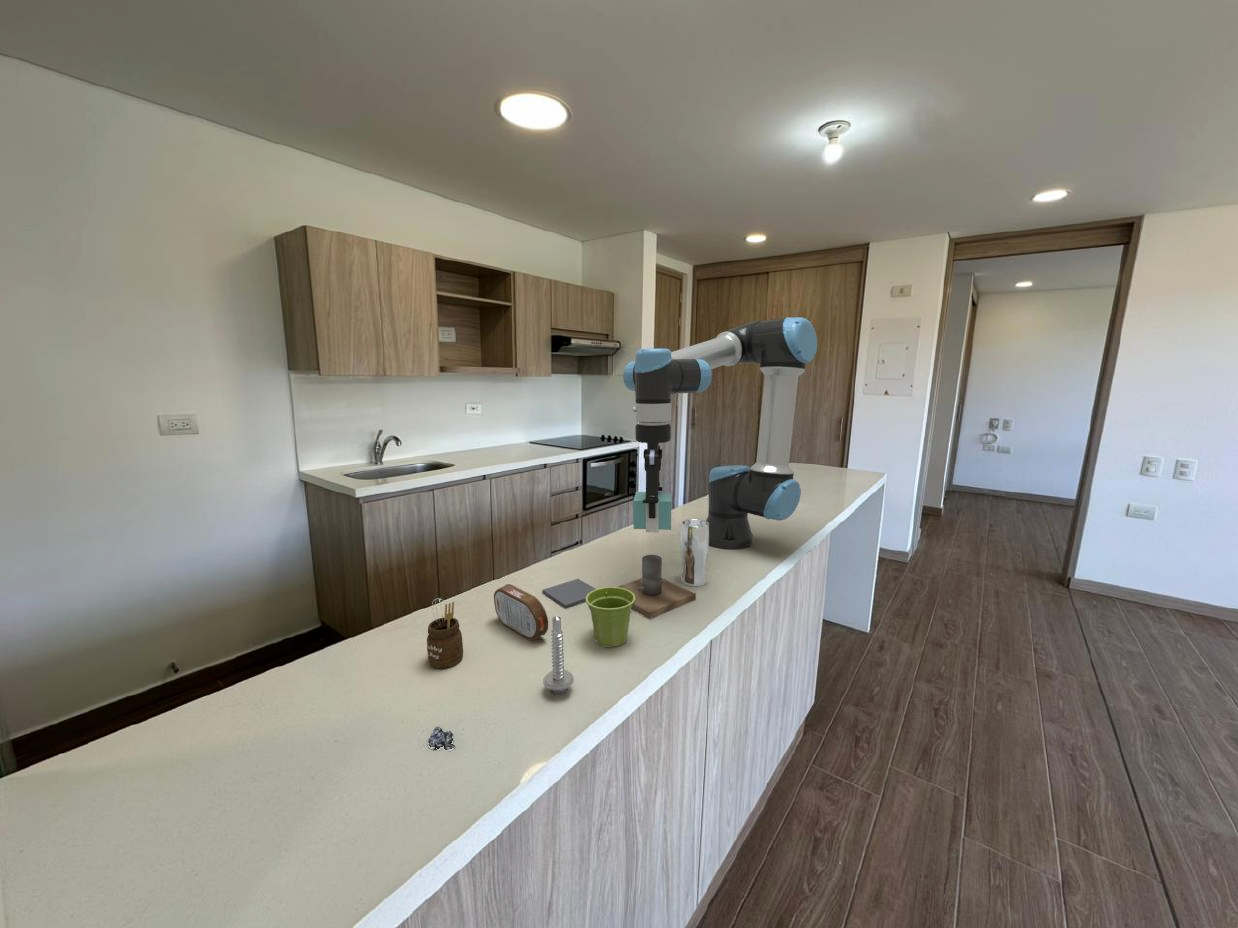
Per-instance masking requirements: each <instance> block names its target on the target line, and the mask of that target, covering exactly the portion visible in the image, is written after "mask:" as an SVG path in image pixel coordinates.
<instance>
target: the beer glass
mask: <svg viewBox="0 0 1238 928" xmlns="http://www.w3.org/2000/svg"><path fill="white" fill-rule="evenodd" d="M680 524H681V526H680V533H679V534H680V535H679V537H680V538H679V539H680V540H679V541H680V542H679V543H680V553H681V560H682V575H681V579H680V580H681V583H682V584H683V585H685V586H688V587H691V588H692V587H695V588H697V587H703V586H705V585H706V584H707V577H706V564H707V560H708V559H707V558H708V553H709V550H710V545H709V523H708V522H707V521H706V520H704V519H699V518H688V519H684V520H682V521H681V523H680Z"/></svg>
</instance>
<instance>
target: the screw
mask: <svg viewBox="0 0 1238 928" xmlns="http://www.w3.org/2000/svg"><path fill="white" fill-rule="evenodd" d="M551 620H552V621H551V622H552V629H551V642H550V643H551V657H552V658H551V665H552V666H551V668H552V671H550V672H548V673H546V675H545V676H544V677H543V681H542V683H543V686H544V687H545V688H546V689H547V690H549V692H550V693H551V694H552V695H553V696H555V697H558V696H565V694H566V692H567V691H568V688H570V687H571V686H572V685H573V683H574V681H575V677H574V675H573V673H572V672H570V671H568V670H565V669H564V668H565V666H564V665H565V663H564V662H565V659H564V657H565V656H564V654H565V653H564V634H563V633H564V632H563V630H562V618H561V617H560V616H558V615H555V616H553V617H552V619H551Z"/></svg>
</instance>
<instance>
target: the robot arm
mask: <svg viewBox="0 0 1238 928" xmlns="http://www.w3.org/2000/svg"><path fill="white" fill-rule="evenodd" d="M817 350H818V336H817V334H816V330H815V328H814V326H813V324H812V323H811V321H809V320H808V319H807V318H805V317H798V316H797V317H790V316H787V317H783V318H775V319H767V320H756V321H752V322H747V323H745V324H741V325H739V326H736V327H734V328H731V329H729V330H726V331H722V332H720V333H718V334H717V336H716V337H715V338H712V339H709V340H707V341H702V342H699V343H697V344H693V345H690V346H687V347H684V348H680V349H677V350H674V351H671V350H670V349H669V348H640V349H638V350H637V351H636V353H635V359H634V361H630V362H629V363H626V365H625V367H624V368H623V373H622V380H623V383H624V386H625V387H626V388H627V389H628V390H630V391H632V392H635V400H634V401H635V406H634V407H632V412H633V413H635V421H636V422H637V424H636V425H635V427H634V428H635V430H634V431H635V441H636V442H638V443H640V444H641V443H642V444H646V448H644V449H643V453H642V454H643V459H644V463H643V464H644V467H643V469H644V471H645V492H646V498H645V500H643V503H646V529H645V533H659V499H658V492H663V486H661V482H660V472H661V470H662V469H661V468H662V459H663V449H662V448H661V447H660V444H665V443H670V441H671V438H672V437H671V435H672V434H671V433H672V431H671V430H672V425H671V424H670V422H671V421H672V395H673V394H697V393H702V392H704V391H706V390H707V389H708V388H709V387H710V385H711V382H712V381H713V380H712V378H713V377H712V375H713V374H712V373H713V372H712V370H713V369H716V368H718V367H719V368H720V367H721V366H726V367H732V366H735V365H738V364H739V365H740V364H745V365H746V364H751V365H752V364H757V365H758V364H759V370H760V371H761V372H762V374H763V375H764V381H763V382H764V383H763V392H762V402H761V403H762V404H761V410H760V411H761V412H760V420H759V421H760V424H759V432H758V440H757V441H758V443H757V452H756V462H755V463H754V464H753V465H751V466H748V465H741V464H735V465H724V466H723V465H722V466H716V467H713V468H711V470H710V472H709V479H708V508H707V509H708V514H707V518H706V520H705V521H707V522H708V523H709V547H710V546H711V547H714V548H719V549H726V550H727V549H728V550H730V549H731V550H735V549H743V548H748V547H750V546H752V545H753V539H754V538H753V537H754V536H753V532H752V529H751V526H750V522H749V519H748V518H749V517H748V515H753V516H756V517H757V516H758V517H761V518H764V519H767V520H773V521H784V520H786V519H789V517H791V516H792V515H793V513H794V512H795V511H796V509H797V508H798V505H799V503H800V499H801V495H802V489H801V485H800V483H799V482H798V481H797V480H796V479H794V474H795V473H794V472H795V471H794V470H793V469H792V468H791V467H790V459H791V458H790V457H791V447H792V439H793V438H792V437H793V427H794V419H795V411H796V410H795V409H796V403H797V402H796V400H797V391H798V384H799V377H800V376H801V375H802V374H803V373H805V372H806V364H808V363H811V362H812V361H813V360H814V359H815V356H816V355H817ZM649 496H655V497H649Z"/></svg>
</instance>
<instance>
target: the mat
mask: <svg viewBox="0 0 1238 928" xmlns="http://www.w3.org/2000/svg"><path fill="white" fill-rule="evenodd" d="M596 589H597V588H595V587H594V586H592V585H590V584H588V583H586V581H583V580H581V579H579V578H575V579H572V580H568V581H566V582H564V583H560V584H556V585H553V586H550V587H548V588H544V589H542V592H541V593H542V594H543V593H544V594H543V595H545V596H546V597H548V598H549V599H550V600H552V601H554V602H555V603H556V604H558V605H560V606H561V607H562V608H564V609H569V608H572V607H574V606H578V605H580V604H583V603H585V602H586V596H587V594H588V593H590V592H591V591H593V590H596Z"/></svg>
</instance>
